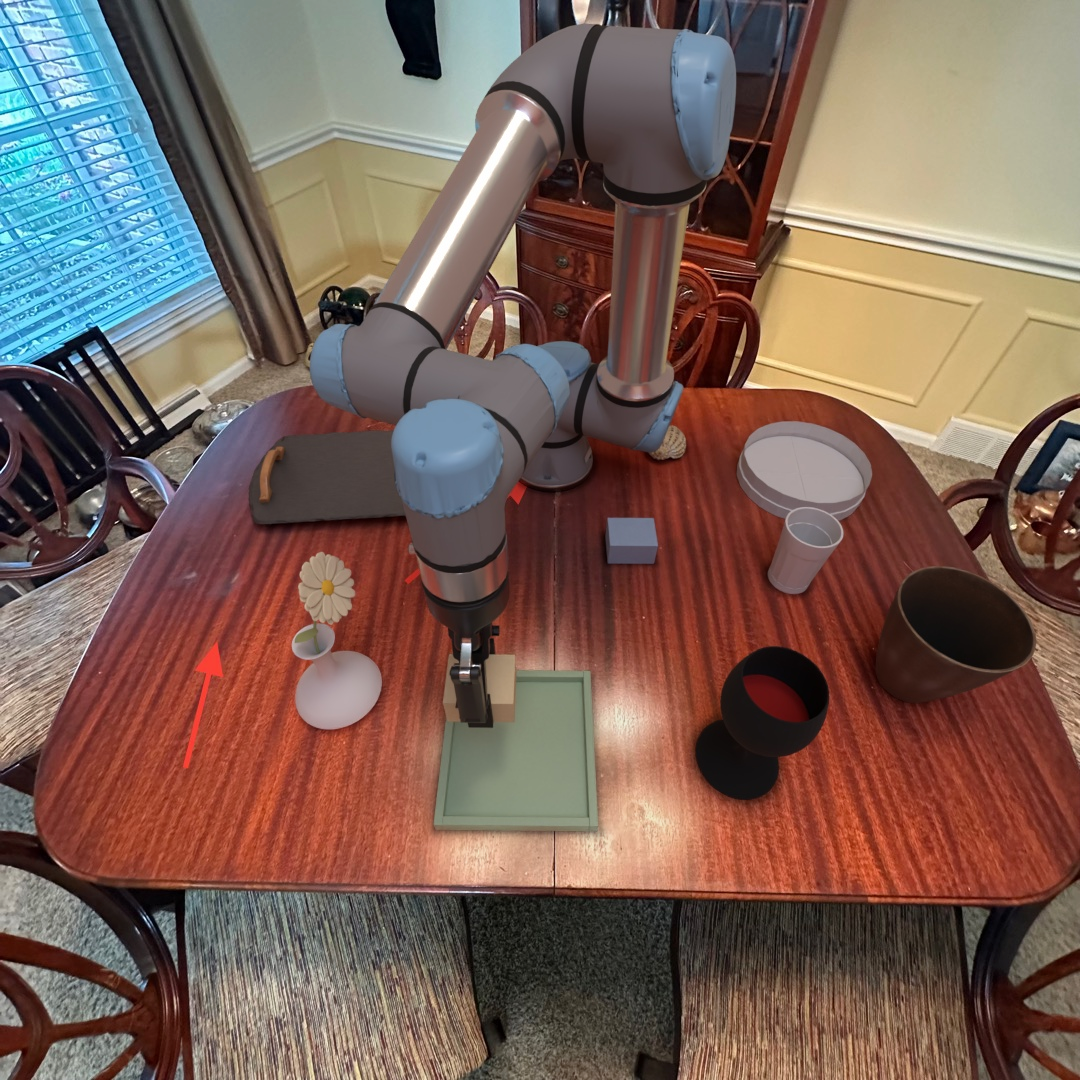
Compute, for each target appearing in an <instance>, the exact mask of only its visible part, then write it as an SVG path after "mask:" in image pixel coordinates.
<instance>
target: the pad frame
mask: <svg viewBox="0 0 1080 1080" xmlns="http://www.w3.org/2000/svg"><path fill="white" fill-rule="evenodd" d="M591 675H592V673H591V670H546V669H545V670H541V669H539V670H535V669H533V670H531V669H528V670H527V669H518V670H517V669H516V697H515V722H493V728H469V727H468V723H461V722H452V721H447V718H446V717H445V724H444V731H443V732H444V733H443V741H442V748H441V757H440V766H439V773H438V783H437V791H436V799H435V807H434V817H433V827H434V829H435V830H436V831H508V832H509V831H511V832H512V831H514V832H515V831H517V832H598V830H599V815H598V814H599V812H598V810H599V809H598V792H597V775H596V774H597V773H596V753H595V752H596V751H595V734H594V713H593V699H592V698H593V695H592V694H593V693H592V676H591Z"/></svg>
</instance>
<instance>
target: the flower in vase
mask: <svg viewBox="0 0 1080 1080" xmlns="http://www.w3.org/2000/svg"><path fill="white" fill-rule="evenodd" d="M298 574H299V578H300V580H301V582H299V583H298V586H297V589H298V595H299V600H300V602H301V603H304V606H303V607H304V610H305V611H306V612H307V613H309V616H311V617H310V618H311V619H312V621H313V623H311V624H308V625H306V626H304V627H302V628H300V630H299V631H298V632H296V634H295V635H294V636H293V638H292V641H291V650H292V653H293V654H294V655H295V656H296V657H297V658H299V659H302V660H307V661H311V662H312V663H311V664H310V665H309V666H308V667H307V668H306V669H305V670H304V672H303V673H302V674H301V676H300V678H299V680H298V682H297V685H296V688H295V695H294V703H295V704H294V705H295V707H296V711H297V713H298V715H299V717H300V718H302V720H303V721H304V722H305V723H306V724H307V725H310V726H311V727H314V728H316V729H320V730H339V729H342V728H346V727H349V726H351V725H353V724H355V723H357V722H358V721H360V720H361V719H363V718H364V717H365V716H366V715H368V714H369V713H370V711H371V710H372V709H373V707H374V706H375V705H376V703H377V701H378V700H379V698H380V695H381V692H382V687H383V681H382V680H383V678H382V674H381V670H380V668H379V667H378V665H377V663H376V662H375V661H374V660H372V659H371V658H370V657H369V656H367V655H365V654H363V653H361V652H358V651H354V650H338V651H333V652H332V650H331V649H332V648H333V646H334V644H335V640H336V634H335V631H334V629H333V628H332V627H331V626H332V625H334V623H339V622H340V620H342V618H343V617H347V616H348V614H349V611H351V610H352V609H353V604H352V598H355V597H356V590H355V589H354V588H353V587H354V585H355V579H353V578H351V576H352V570H351V569H350V568H346V567H345V561H344V560H340V558H339V557H338V556H335V555H332V554H329V553H328V554H325V552H324V551H320V552H317V553H316V554H315V556H314V555H311V557H309V561H305V562H304V563H303V564H302V566H301V570H300V571H299V573H298ZM318 621H319V622H318ZM325 623H327V624H325Z"/></svg>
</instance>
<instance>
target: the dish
mask: <svg viewBox="0 0 1080 1080" xmlns="http://www.w3.org/2000/svg"><path fill="white" fill-rule="evenodd" d="M872 477H873V469H872V464H871V462H870V460H869V458H868V457H867V455H866V453H865V452H864V451H863V450H862V449H861V448H860V447H859V446H858V445H857V444H856V443H855V442H853V441H852V440H850V439H849V438H848V437H847V436H845V435H843V434H841V433H840V432H837V431H835V430H833V429H831V428H830V427H829V428H828V427H825V426H822V425H818V424H815V423H811V422H804V421H797V420H793V421H791V420H790V421H788V420H787V421H785V420H784V421H777V422H772V423H768V424H766V425H763V426H761V427H759V428H757V429H755V431H753V432H752V433H751V434H750V435H749V436H748V438H747V440H746V442H745V444H744V447H743V449H742V451H741V453H740V455H739V459H738V461H737V464H736V478H737V481H738V484H739V486H740V488H741V489H742V491H743V492H744V493H745V495H746V496H747V498H748V499H749V500H751V501H752V502H753V503H754V504H755V505H756V506H758V507H759V508H761V509H762V510H764V511H766V512H767V513H769V514H771V515H772V516H776V517H777V518H781V519H783V520H785V519H786V517H787V515H788V513H789V512H791V511H792V510H794V509H796V508H800V507H813V508H817V509H821V510H823V511H825V512H827V513H829V514H831V515H832V516H833V517H835V518H836V519H837V520H838V521H839V522H840V521H843V520H844V519H846V518H848V517H849V516H852V515H853V513H854V512H856V510H857V509H858V507H860V505H861V503H862V501H863V499H864V498H865V496H866V492H867V490H868V488H869V487H870V484H871V482H872Z"/></svg>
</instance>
